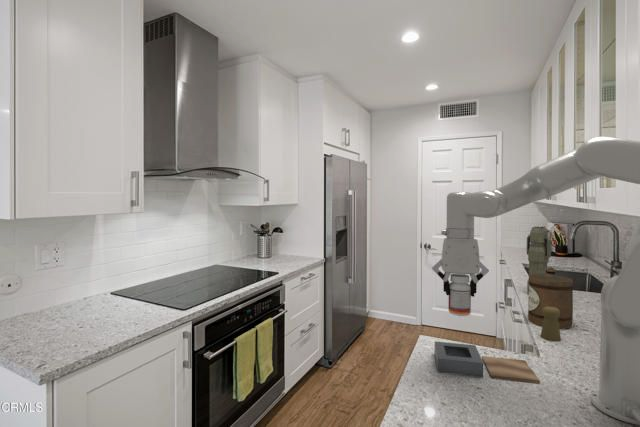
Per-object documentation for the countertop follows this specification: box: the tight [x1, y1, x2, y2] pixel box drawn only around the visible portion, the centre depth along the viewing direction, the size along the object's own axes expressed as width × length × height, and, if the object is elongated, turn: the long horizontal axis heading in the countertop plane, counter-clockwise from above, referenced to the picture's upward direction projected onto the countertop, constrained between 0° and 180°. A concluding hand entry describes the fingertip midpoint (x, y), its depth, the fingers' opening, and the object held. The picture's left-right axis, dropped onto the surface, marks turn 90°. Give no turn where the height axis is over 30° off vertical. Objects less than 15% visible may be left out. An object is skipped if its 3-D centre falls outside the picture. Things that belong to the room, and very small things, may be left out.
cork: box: [540, 307, 562, 342], centre depth 122 cm, size 6×6×11 cm
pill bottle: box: [447, 273, 472, 317], centre depth 102 cm, size 6×6×11 cm
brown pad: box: [481, 355, 541, 384], centre depth 100 cm, size 12×12×1 cm
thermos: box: [526, 226, 552, 296], centre depth 176 cm, size 9×12×35 cm
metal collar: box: [434, 341, 484, 378], centre depth 103 cm, size 12×12×4 cm
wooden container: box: [527, 267, 574, 330], centre depth 138 cm, size 15×15×22 cm
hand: (459, 294), depth 102 cm, fingers closed on pill bottle, 6 cm apart
